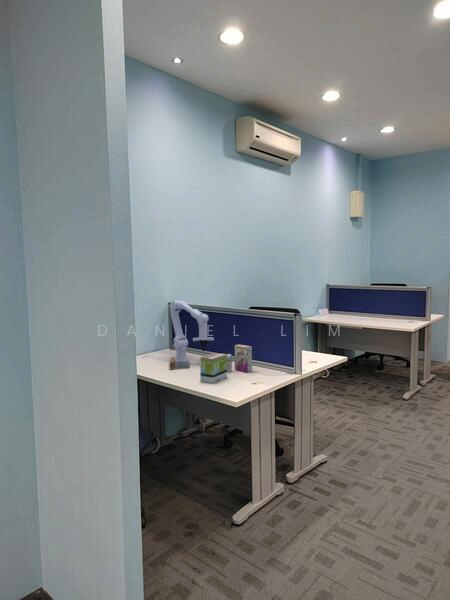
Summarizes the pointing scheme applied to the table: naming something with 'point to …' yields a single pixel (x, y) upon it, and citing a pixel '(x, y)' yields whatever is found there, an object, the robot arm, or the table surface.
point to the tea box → (213, 367)
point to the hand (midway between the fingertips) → (203, 351)
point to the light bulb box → (229, 363)
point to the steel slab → (182, 365)
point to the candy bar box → (243, 358)
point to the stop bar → (172, 363)
